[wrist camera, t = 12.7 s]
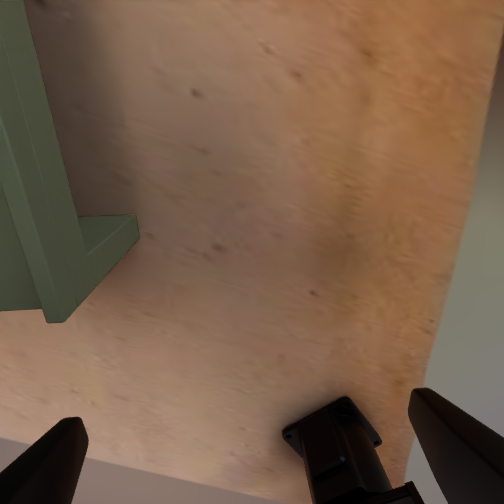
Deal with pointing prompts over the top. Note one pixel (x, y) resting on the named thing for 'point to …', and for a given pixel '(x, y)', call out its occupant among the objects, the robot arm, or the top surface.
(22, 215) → the shelf
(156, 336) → the top surface
